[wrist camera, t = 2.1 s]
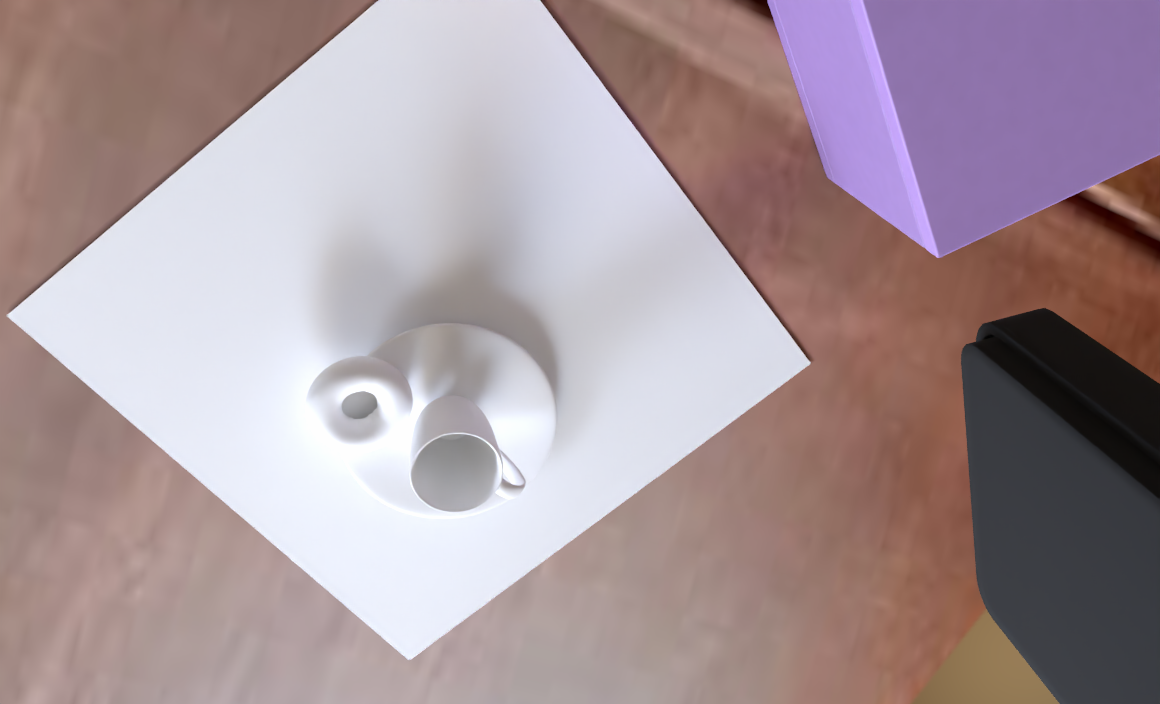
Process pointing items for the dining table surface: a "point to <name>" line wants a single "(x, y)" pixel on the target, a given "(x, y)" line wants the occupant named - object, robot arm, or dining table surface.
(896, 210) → the box
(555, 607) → the dining table surface
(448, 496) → the teacup and saucer
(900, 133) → the lid
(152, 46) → the dining table surface
